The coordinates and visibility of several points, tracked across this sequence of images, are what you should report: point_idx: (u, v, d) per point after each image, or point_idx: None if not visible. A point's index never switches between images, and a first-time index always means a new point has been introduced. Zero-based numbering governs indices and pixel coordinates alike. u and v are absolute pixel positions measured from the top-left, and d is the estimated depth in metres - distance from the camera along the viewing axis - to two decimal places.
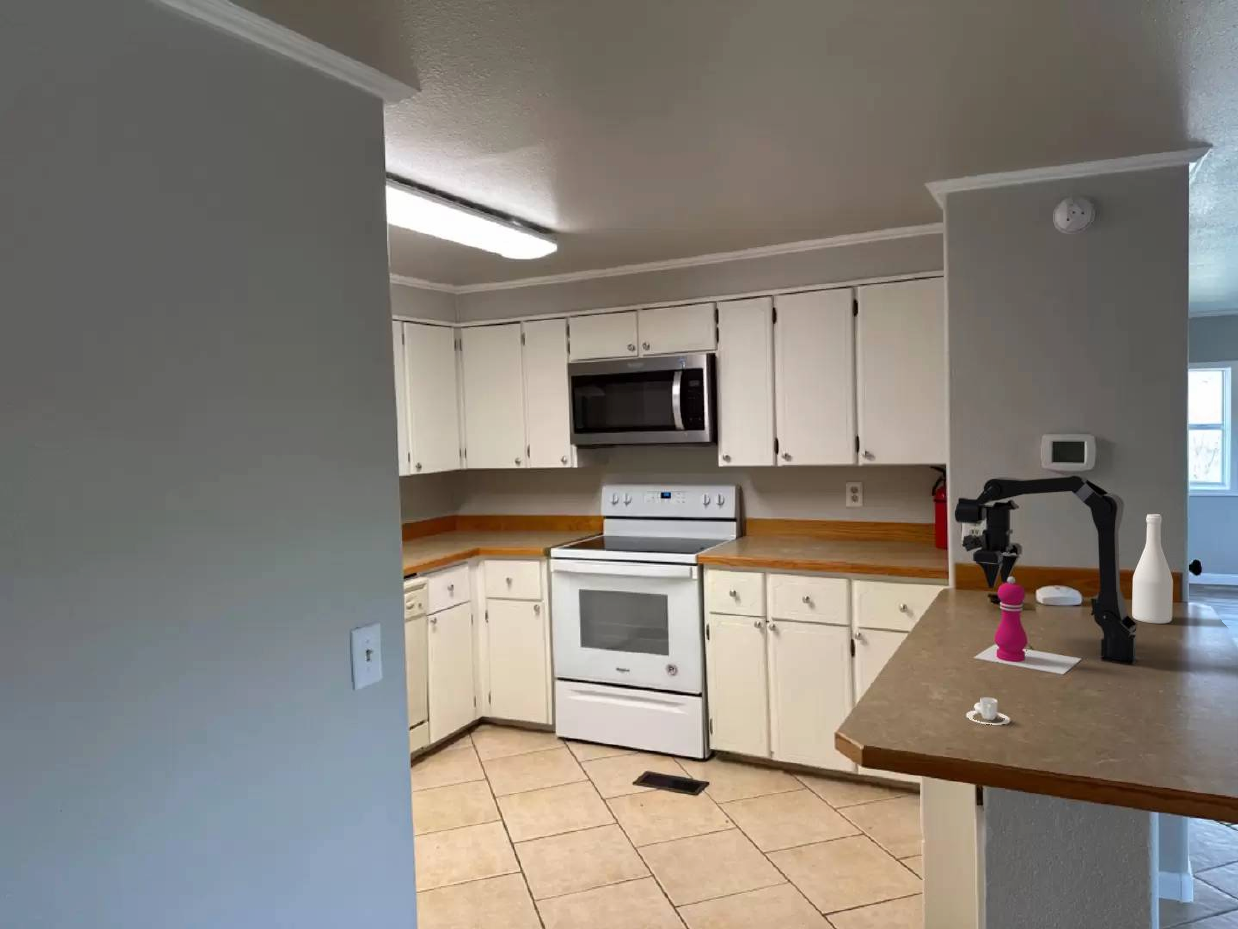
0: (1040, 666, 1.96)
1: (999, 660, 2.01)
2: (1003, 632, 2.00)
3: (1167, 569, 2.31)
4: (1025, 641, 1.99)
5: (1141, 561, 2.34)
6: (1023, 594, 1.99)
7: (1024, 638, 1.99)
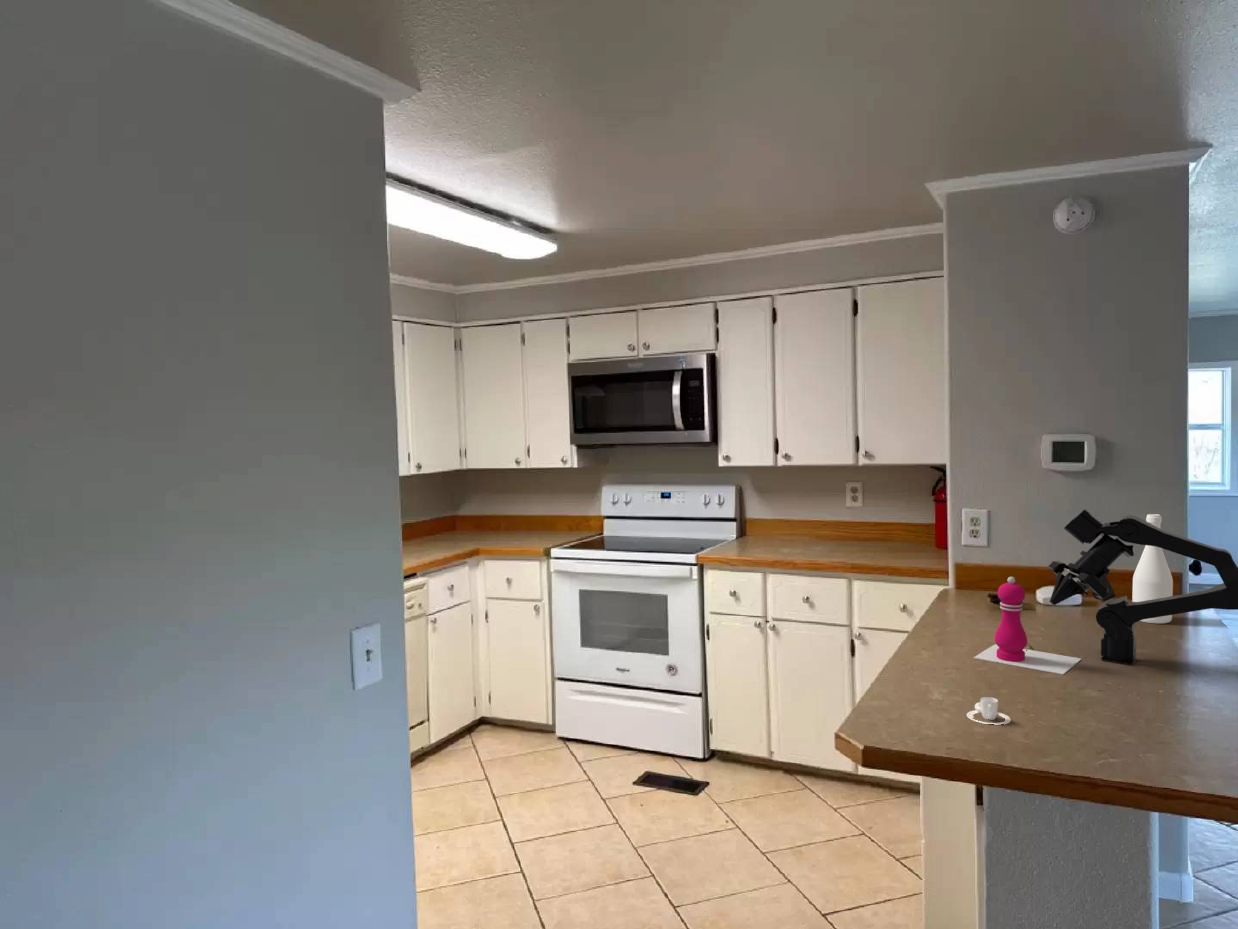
0: (1040, 666, 1.96)
1: (999, 660, 2.01)
2: (1003, 632, 2.00)
3: (1167, 569, 2.31)
4: (1025, 641, 1.99)
5: (1141, 561, 2.34)
6: (1023, 594, 1.99)
7: (1024, 638, 1.99)
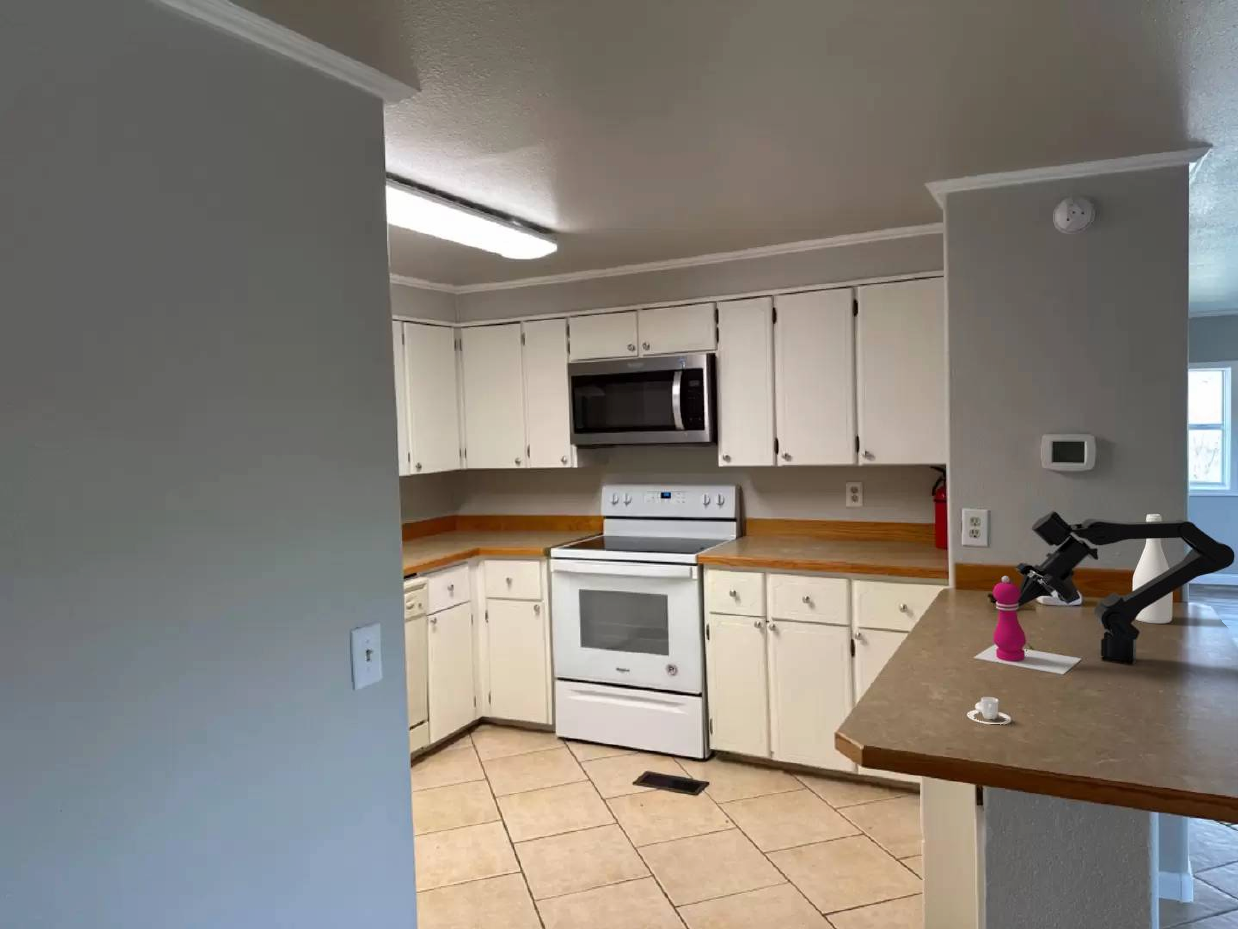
0: (1040, 666, 1.96)
1: (999, 660, 2.01)
2: (1001, 632, 2.00)
3: (1167, 569, 2.31)
4: (1024, 639, 1.99)
5: (1141, 561, 2.34)
6: (1018, 593, 1.99)
7: (1022, 636, 1.99)
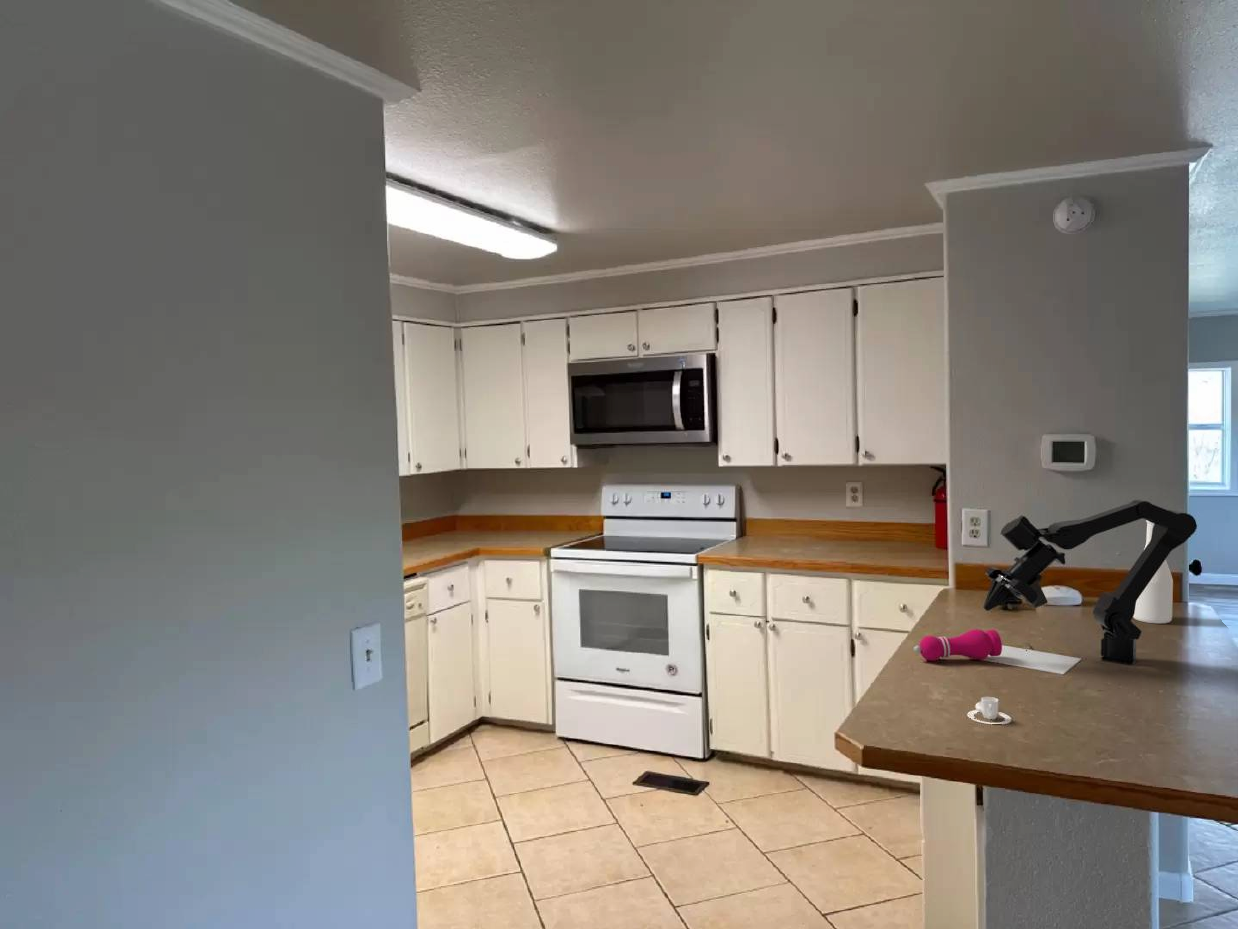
0: (1040, 666, 1.96)
1: (999, 660, 2.01)
2: (971, 657, 2.01)
3: (1167, 569, 2.31)
4: (980, 638, 1.99)
5: None
6: (933, 643, 2.00)
7: (977, 640, 1.99)
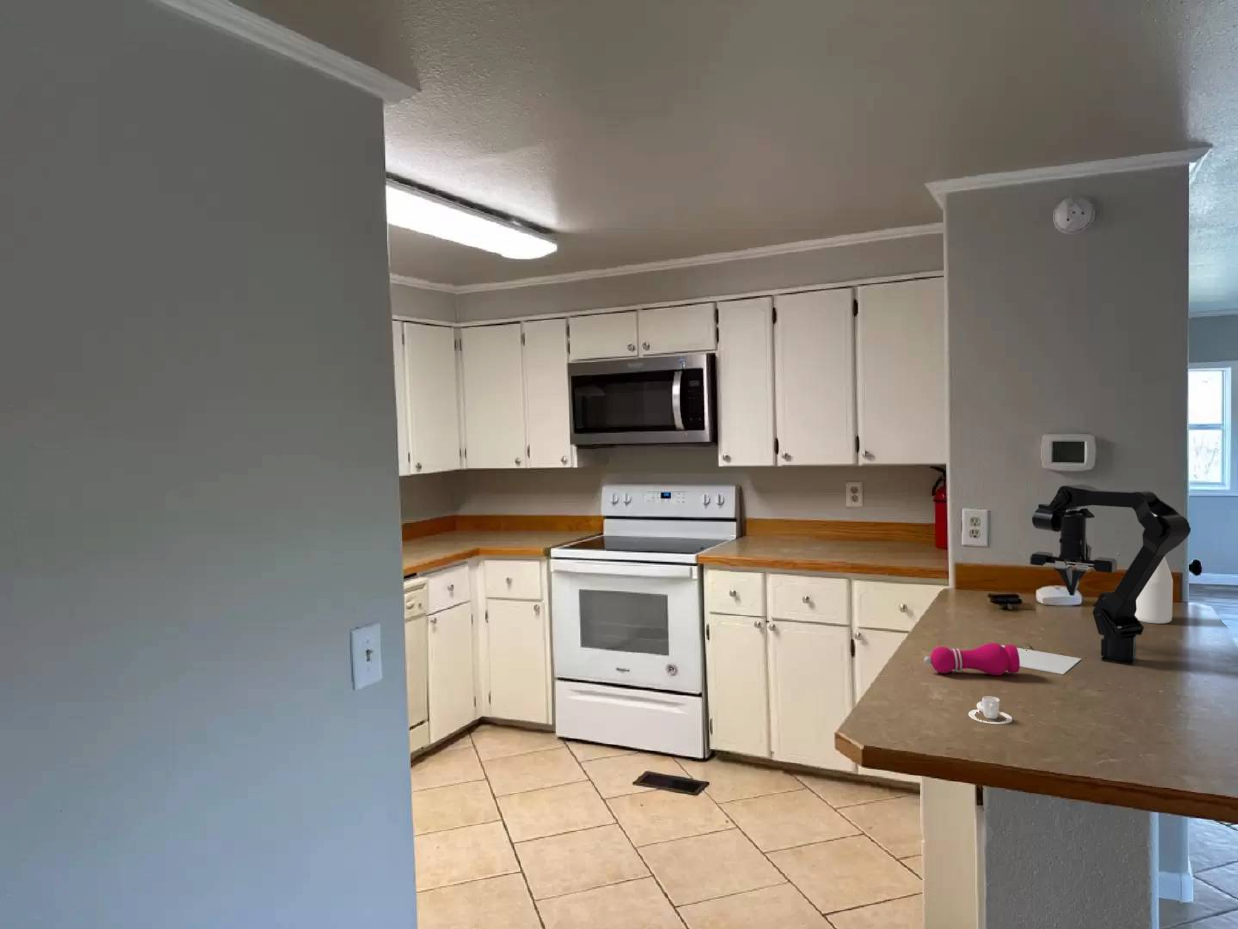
0: (1040, 666, 1.96)
1: None
2: None
3: (1167, 569, 2.31)
4: None
5: None
6: None
7: None
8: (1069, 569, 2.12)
